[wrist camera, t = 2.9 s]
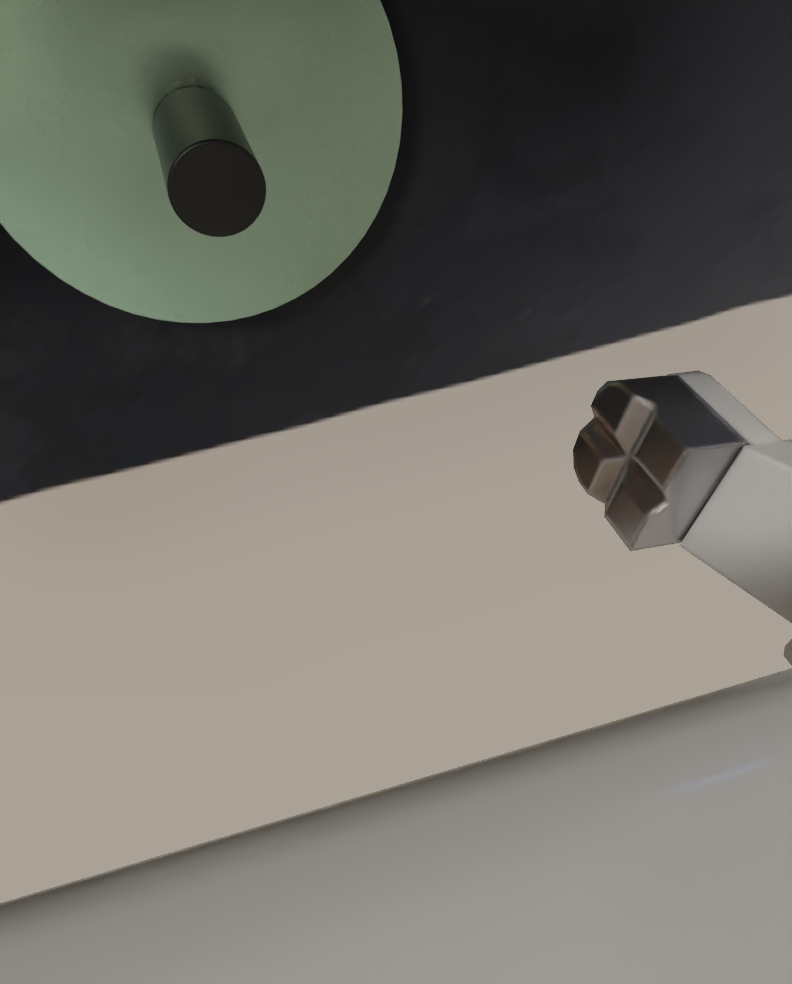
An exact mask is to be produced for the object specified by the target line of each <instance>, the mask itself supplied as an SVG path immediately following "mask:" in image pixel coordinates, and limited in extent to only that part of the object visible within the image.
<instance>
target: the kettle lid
mask: <svg viewBox="0 0 792 984" xmlns="http://www.w3.org/2000/svg"><path fill="white" fill-rule="evenodd" d="M402 116H403V106H402V81H401V74H400V67H399V60H398V53H397V49H396V46H395V42H394V38H393V34H392V30H391V27H390V23H389V20H388V18H387V15H386V12H385V10H384V7H383V5H382V2H381V0H0V224H1V225H2V227H3V228H4V229H5V230H6V231H7V233H8V234H9V235H10V236H11V237H12V239H14V240H15V241H16V242H17V243H18V244H19V245H20V246H21V247H22V248H23V249H24V250H25V251H26V252H27V253H28V254H29V255H30V256H31V257H32V258H33V259H34V260H35V261H37V262H38V263H39V264H41V265H42V266H43V267H44V268H46V269H47V270H48V271H50V272H51V273H52V274H53V275H55V276H56V277H57V278H59V279H60V280H62V281H64V282H65V283H67V284H68V285H70V286H72V287H73V288H75V289H76V290H78V291H80V292H81V293H83V294H85V295H87V296H89V297H91V298H93V299H96V300H98V301H100V302H102V303H104V304H106V305H108V306H111V307H114V308H117V309H120V310H123V311H125V312H128V313H131V314H135V315H139V316H143V317H147V318H152V319H156V320H162V321H170V322H179V323H214V322H224V321H232V320H237V319H241V318H246V317H250V316H254V315H257V314H260V313H263V312H266V311H269V310H272V309H275V308H277V307H279V306H281V305H283V304H285V303H287V302H290V301H292V300H294V299H296V298H297V297H299V296H301V295H302V294H304V293H305V292H307V291H309V290H310V289H312V288H313V287H315V286H316V285H317V284H319V283H320V282H321V281H322V280H324V279H325V278H326V277H327V276H329V275H330V274H331V273H332V272H333V271H334V270H335V269H336V268H337V267H338V266H339V265H340V264H341V263H342V262H343V261H344V260H345V259H346V258H347V257H348V256H349V255H350V254H351V253H352V251H353V250H354V249H355V247H356V246H357V245H358V244H359V242H360V241H361V240H362V238H363V237H364V236H365V234H366V232H367V231H368V229H369V227H370V226H371V224H372V222H373V221H374V219H375V217H376V216H377V214H378V211H379V209H380V207H381V205H382V203H383V200H384V198H385V196H386V194H387V191H388V188H389V185H390V182H391V179H392V176H393V173H394V169H395V165H396V160H397V155H398V150H399V145H400V139H401V127H402Z"/></svg>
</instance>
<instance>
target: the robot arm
mask: <svg viewBox="0 0 792 984" xmlns="http://www.w3.org/2000/svg"><path fill="white" fill-rule="evenodd" d="M591 407H592V410H593V413H594V418H593V419H592V420H591V421H590V422H589V423H588V424H587V425H586V426H585V427H584V428H583V429H582V430H581V431H580V433H579V436H578V438H577V441H576V444H575V446H574V449H573V456H574V469H575V472H576V475H577V477H578V480H579V482H580V484H581V485H582V486H583V488H584V489H585V490H586V492H587V493H588V494H589V495H590V496H592V497H594V498H596V499H598V500H599V501H601V502H603V503H605V518H606V519H607V521H608V522H609V523H610V525H611V526H612V527H613V528H614V530H615V531H616V533H617V534H618V535H619V536H620V538H621V539H622V540H623V542H624V543H625V544H626V546H627V547H628V549H629V550H630V551H633V550H639V549H645V548H650V547H657V546H663V545H669V544H675V543H681V544H680V546H681V547H682V548H684V549H685V550H686V551H688V552H689V553H691V554H692V555H694V556H695V557H697V558H698V559H700V560H701V561H702V562H704V563H705V564H707V565H708V566H710V567H711V568H713V569H714V570H715V571H717V572H718V573H720V574H721V575H723V576H724V577H726V578H727V579H729V580H730V581H731V582H733V583H734V584H736V585H737V586H739V587H740V588H742V589H743V590H745V591H746V592H747V593H749V594H750V595H752V596H753V597H755V598H756V599H758V600H759V601H760V602H762V603H763V604H765V605H766V606H768V607H769V608H771V609H772V610H774V611H775V612H776V613H778V614H779V615H781V616H782V617H784V618H785V619H787V620H788V621H789V622H791V623H792V440H783V441H782V440H781V439H780V438H779V437H777V436H776V435H775V434H774V433H773V432H772V431H771V430H770V429H769V428H768V427H767V426H766V425H764V424H763V423H762V422H761V421H760V420H759V419H758V418H757V417H756V416H755V415H753V414H752V413H751V412H750V411H749V410H748V409H747V408H746V407H745V406H744V405H743V404H741V403H740V402H739V401H738V400H737V399H736V398H735V397H734V396H733V395H732V394H731V393H729V392H728V391H727V390H726V389H725V388H724V387H723V386H722V385H721V384H720V383H718V382H717V381H716V380H715V379H714V378H713V377H712V376H711V375H708V374H706V373H703V372H700V371H693V372H684V373H675V374H669V375H666V376H657V377H647V378H637V379H627V380H617V381H608V382H606V383H605V384H604V385H603V386H602V387H601V388H600V389H599V390H598V391H597V394H596V396H595V398H594V400H593V402H592V405H591ZM784 656H785V658H786V659H787V660H788V661H789V662H790V664H791V665H792V639H791V641H790V642H789V643H788V644H787V645H786V646H785V650H784ZM0 984H792V669H788V670H785V671H782V672H778V673H775V674H771V675H768V676H765V677H761V678H758V679H755V680H751V681H748V682H745V683H741V684H738V685H734V686H731V687H728V688H724V689H721V690H718V691H714V692H711V693H708V694H704V695H701V696H697V697H694V698H691V699H687V700H684V701H680V702H677V703H674V704H670V705H667V706H664V707H660V708H657V709H653V710H650V711H647V712H643V713H640V714H637V715H633V716H630V717H626V718H624V719H620V720H616V721H613V722H610V723H606V724H603V725H600V726H596V727H593V728H590V729H586V730H583V731H579V732H576V733H573V734H569V735H566V736H562V737H559V738H556V739H553V740H549V741H546V742H542V743H539V744H535V745H532V746H529V747H526V748H522V749H519V750H516V751H512V752H509V753H505V754H502V755H498V756H495V757H492V758H488V759H485V760H482V761H478V762H475V763H471V764H468V765H465V766H461V767H458V768H455V769H451V770H448V771H445V772H441V773H438V774H434V775H431V776H428V777H424V778H421V779H418V780H414V781H411V782H407V783H404V784H401V785H398V786H394V787H390V788H388V789H384V790H381V791H377V792H374V793H370V794H367V795H363V796H360V797H357V798H353V799H350V800H347V801H344V802H340V803H336V804H333V805H330V806H326V807H323V808H320V809H316V810H313V811H310V812H306V813H303V814H300V815H296V816H293V817H289V818H286V819H283V820H279V821H276V822H273V823H269V824H266V825H262V826H259V827H256V828H252V829H249V830H246V831H242V832H239V833H236V834H232V835H229V836H225V837H222V838H219V839H215V840H212V841H209V842H205V843H202V844H198V845H195V846H192V847H188V848H185V849H182V850H178V851H175V852H172V853H168V854H165V855H161V856H158V857H155V858H151V859H148V860H145V861H141V862H138V863H135V864H131V865H128V866H124V867H121V868H118V869H114V870H111V871H108V872H105V873H101V874H98V875H94V876H91V877H87V878H84V879H81V880H78V881H74V882H71V883H67V884H64V885H60V886H57V887H54V888H51V889H47V890H44V891H41V892H37V893H34V894H31V895H27V896H23V897H20V898H17V899H13V900H10V901H7V902H3V903H0Z"/></svg>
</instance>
